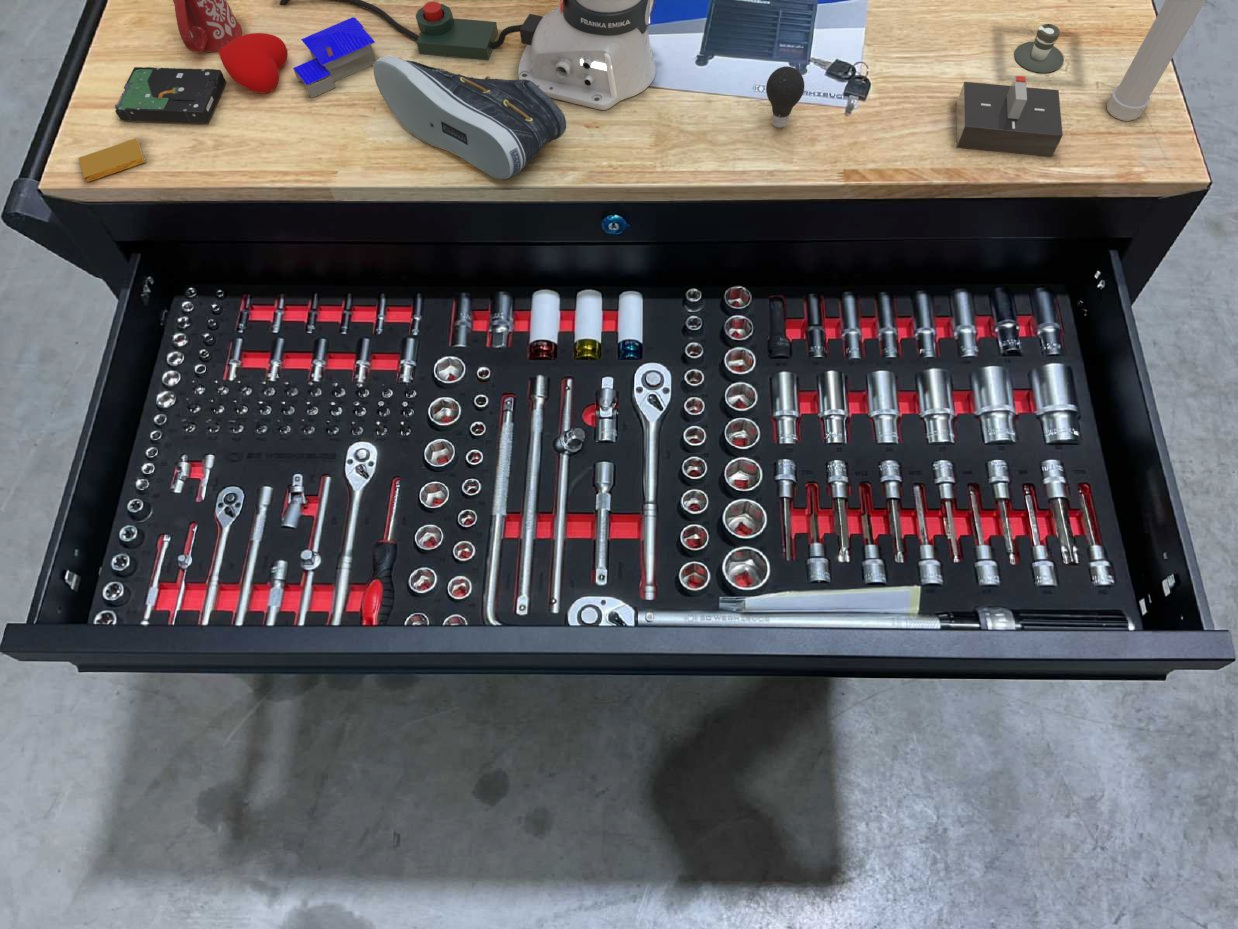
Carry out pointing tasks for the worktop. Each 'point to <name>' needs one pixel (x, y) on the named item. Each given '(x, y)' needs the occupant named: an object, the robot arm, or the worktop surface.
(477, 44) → the button box
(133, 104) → the disk drive
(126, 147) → the golden brown flat block
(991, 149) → the lever switch box
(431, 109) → the boat shoe
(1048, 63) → the grey disc with post
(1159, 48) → the pipe
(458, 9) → the worktop surface
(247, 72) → the heart
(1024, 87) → the grey switch knob
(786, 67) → the light bulb
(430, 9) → the button
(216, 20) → the mug
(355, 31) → the house
